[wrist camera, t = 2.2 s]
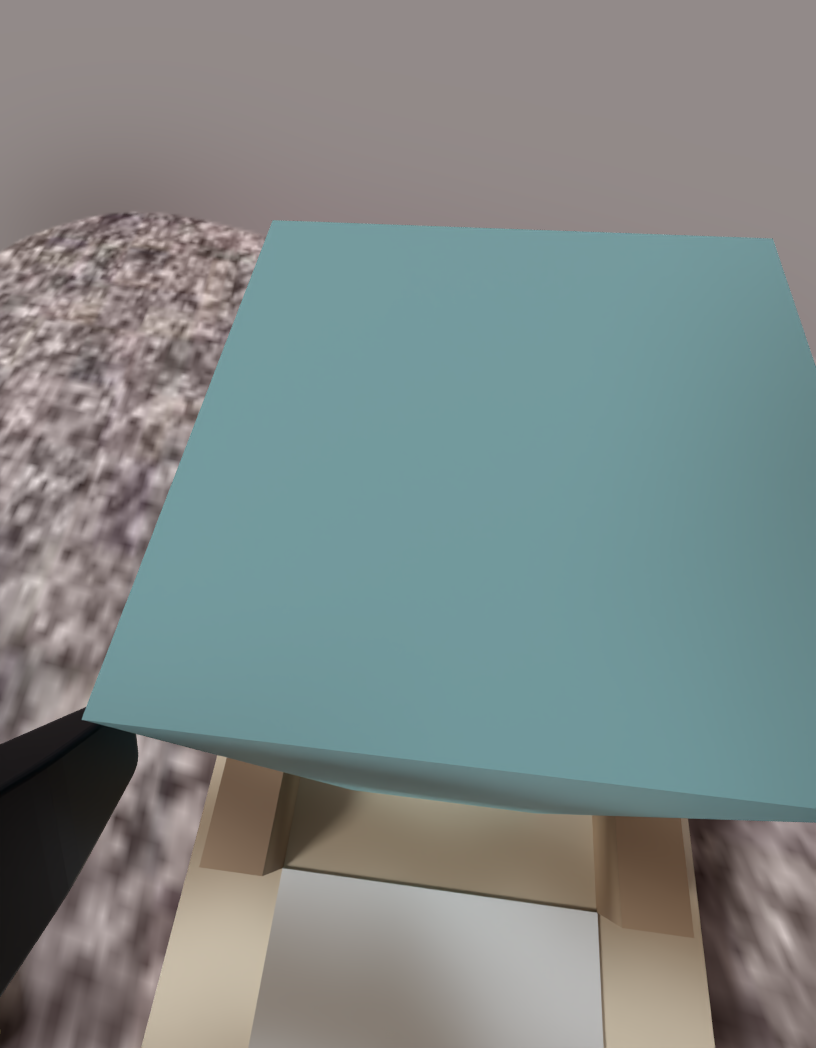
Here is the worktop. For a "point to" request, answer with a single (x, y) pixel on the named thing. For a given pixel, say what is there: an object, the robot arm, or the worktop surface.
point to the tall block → (495, 527)
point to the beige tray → (427, 925)
